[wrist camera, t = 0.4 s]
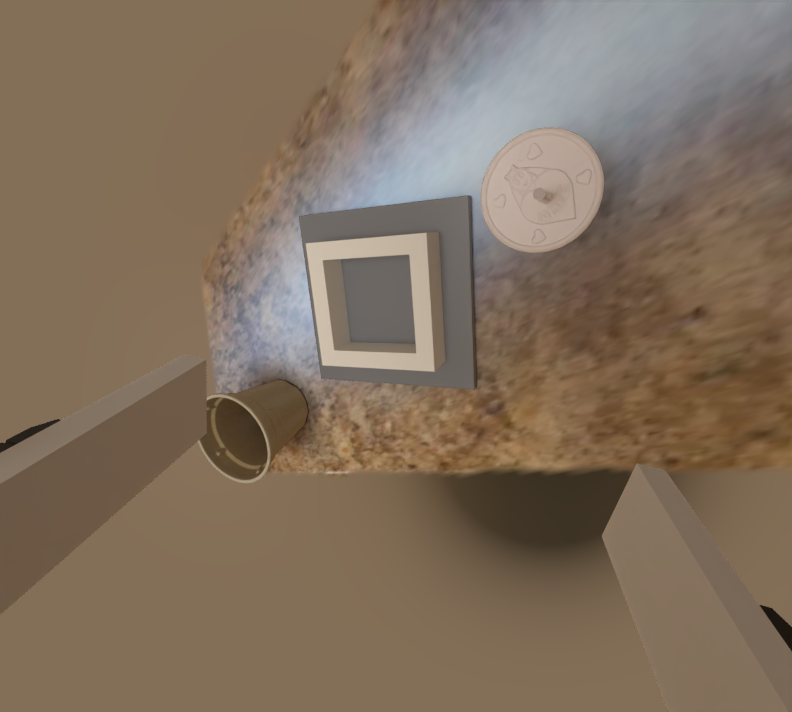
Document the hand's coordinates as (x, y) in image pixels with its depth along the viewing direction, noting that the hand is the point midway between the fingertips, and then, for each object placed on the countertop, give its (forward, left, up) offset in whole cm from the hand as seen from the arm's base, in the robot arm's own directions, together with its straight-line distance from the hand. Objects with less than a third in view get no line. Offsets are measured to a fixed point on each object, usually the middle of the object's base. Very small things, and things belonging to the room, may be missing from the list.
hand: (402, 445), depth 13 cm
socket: (+12, -1, -24) cm, 27 cm away
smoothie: (-2, -8, -24) cm, 26 cm away
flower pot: (+26, +11, -24) cm, 37 cm away
